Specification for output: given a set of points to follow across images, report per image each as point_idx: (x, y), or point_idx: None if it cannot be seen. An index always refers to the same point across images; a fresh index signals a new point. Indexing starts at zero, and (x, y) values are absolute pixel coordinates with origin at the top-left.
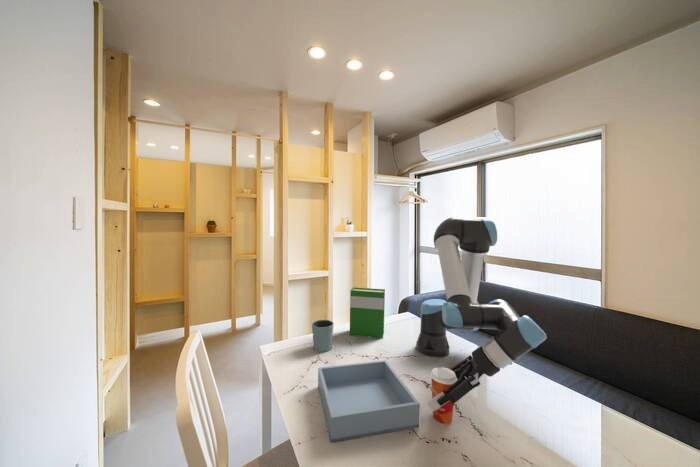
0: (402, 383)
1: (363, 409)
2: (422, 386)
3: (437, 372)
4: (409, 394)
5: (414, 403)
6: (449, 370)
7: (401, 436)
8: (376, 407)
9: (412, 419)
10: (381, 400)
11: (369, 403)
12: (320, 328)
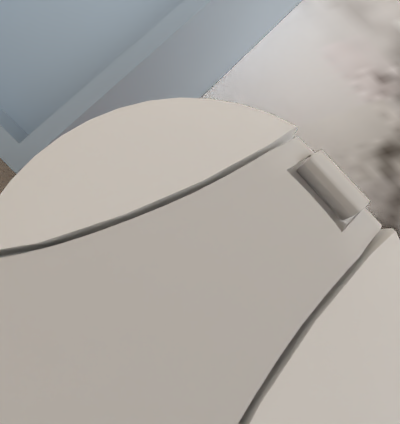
0: (172, 22)
1: (50, 4)
2: (367, 134)
3: (126, 196)
4: (78, 92)
5: (3, 146)
6: (360, 400)
7: (5, 169)
8: (87, 35)
9: None
10: (139, 32)
11: (94, 5)
12: None
